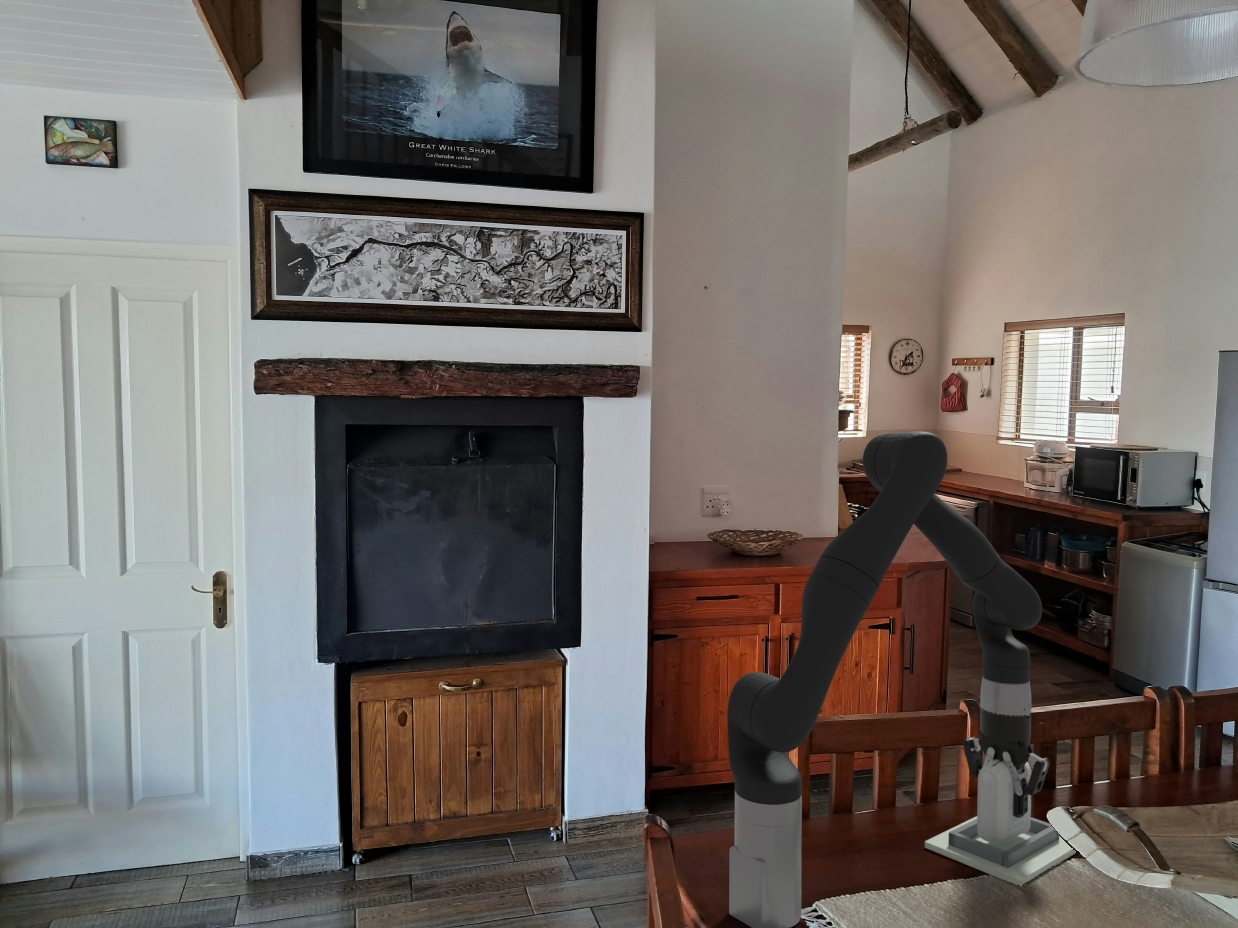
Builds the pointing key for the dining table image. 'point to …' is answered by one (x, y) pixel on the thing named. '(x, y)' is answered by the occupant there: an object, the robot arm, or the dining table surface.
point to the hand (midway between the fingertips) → (1004, 810)
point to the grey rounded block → (999, 804)
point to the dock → (1004, 850)
